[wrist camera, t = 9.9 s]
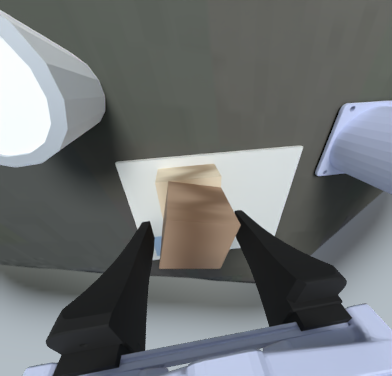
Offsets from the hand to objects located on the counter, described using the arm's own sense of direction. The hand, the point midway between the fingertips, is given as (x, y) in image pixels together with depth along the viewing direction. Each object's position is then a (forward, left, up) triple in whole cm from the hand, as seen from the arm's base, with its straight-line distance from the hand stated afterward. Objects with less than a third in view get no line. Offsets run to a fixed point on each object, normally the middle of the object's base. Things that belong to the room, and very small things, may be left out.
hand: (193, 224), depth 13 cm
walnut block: (0, 0, -3) cm, 3 cm away
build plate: (-3, +4, -6) cm, 8 cm away
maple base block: (0, 0, -6) cm, 6 cm away
